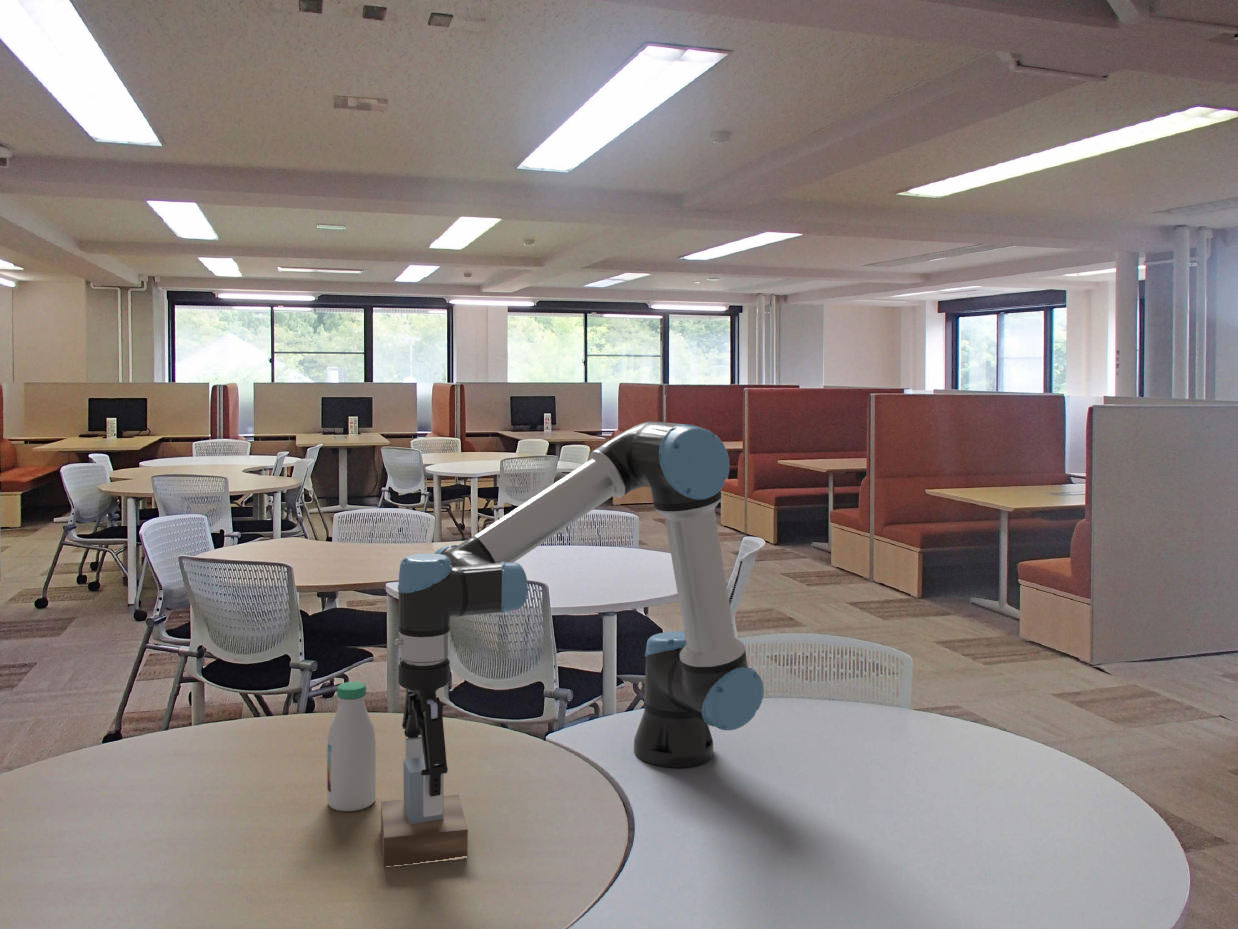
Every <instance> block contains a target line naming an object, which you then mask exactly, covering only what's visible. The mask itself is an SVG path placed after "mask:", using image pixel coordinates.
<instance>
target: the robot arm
mask: <svg viewBox="0 0 1238 929" xmlns="http://www.w3.org/2000/svg"><path fill="white" fill-rule="evenodd" d="M729 474H730V457H729V454H728V450H727V447H726V446H725V444H724V443H723V441H722V439H721V438H720V437H719V436H717V435H716V434H715V433H714V432H712V431H711V430H708V429H706V428H704V427H700V426H697V425H695V424H690V423H689V424H688V423H685V424H683V423H674V422H665V421H659V420H650V421H646V422H641V423H639V424H637V425H634V426H632V427H630V428H628V429H626V430H625V431H623V432H621V433H618V434H617V435H616V436H614V437H612V438H611V439H610V440H608V441H606V442H604V443H603V444H602V445H599V446H598V447H597V448H595V449H594V450H592V451H591V452H590V454H589V459H588V460H587V461H586V462H584V463H583V464H582V465H580V466H578V467H577V468H575V469H574V470H572V471H570V473H568V474H566V475H564V476H563V477H562V478H560V479H558V480H557V481H555V482H554V483H552V484H551V485H549V486H548V487H547V488H545V489H542V491H540V492H539V493H537V494H535V495H534V496H532V497H531V498H529V499H528V500H526V501H525V502H523V503H522V504H520V505H519V506H518V507H516V508H514V509H512V510H511V511H510V512H508V513H506V514H504V515H503V516H502V517H500V518H498V519H497V520H496V521H494V522H493V523H491V524H489V525H487V527H485V528H484V529H482V530H481V531H479V532H478V533H476V534H474V535H473V536H471V537H469V538H468V539H467V540H465V541H463V542H462V543H460V544H459V545H456V544H449V545H444V546H441V547H440V548H439V549H438V548H437V550H436V551H434V553H427V552H426V553H415V554H410V555H408V556H406V557H404V558H403V559H402V560H401V562H400V565H399V570H398V585H397V591H398V625H399V626H398V636H399V638H395V639H394V645H395V646H398V656H399V658H400V660H399V661H398V663H397V664H398V670H397V671H398V672H397V673H398V678H397V680H398V682H397V683H398V684H399V686H400V687H402V688H403V689H406V691H405V700H404V701H405V702H404V708H403V709H404V710H403V716H402V717H403V718H402V724H401V726H402V728H403V730H404V733H403V734H404V736H405V739H404V740H405V744H404V745H405V746H404V747H405V751H404V752H405V753H404V754H405V755H404V756H405V759H404V760H407V759H414V758H421V757H424V761H425V770H422V771H421V775H422V776H423V775H424V784H423V815H424V817H428V816H434V815H441V814H443V796H444V774H447V773H448V769H449V767H448V764H447V753H446V740H445V728H444V717H443V716H444V714H443V710H444V705H443V702H441V700H440V697H437V693H436V692H437V691H438V690H439V689H441V688H444V687H446V686H447V685H448V684H449V682H450V674H451V673H450V666H451V665H450V664H451V662H450V659H449V658H448V657H450V656H451V618H455V617H456V618H457V617H466V616H477V615H487V614H497V613H501V614H504V613H507V612H510V611H511V612H512V611H517V610H520V609H522V608H523V606H524V605H525V603H526V601H527V599H528V593H529V592H528V591H529V588H528V587H529V586H528V578H527V575H526V574H527V573H526V572H525V569H524V567H523V566H522V565H521V564H520V563H518V562H517V561H518V560H520V559H522V557H524V556H526V555H527V554H528V553H530V552H532V551H533V550H534V549H536V548H537V547H539V546H541V545H542V544H544V543H545V542H546V541H547V540H549V539H551V538H552V537H554V536H556V535H557V534H558V533H560V532H561V531H563V530H564V529H566V528H568V526H570V525H572V524H574V522H576V521H578V520H580V519H582V517H585V515H587V514H588V513H590V512H591V511H593V510H594V509H596V508H597V507H599V506H600V505H602V504H603V503H605V502H606V501H607V500H609V499H611V498H612V497H614V498H617V499H618V498H619V499H620V498H624V496H625V495H627V494H629V493H630V492H632V491H634V490H637V489H640V488H650V491H651V498H652V502H653V509H654V510H655V511H656V512H657V513H659V514H660V515H661V516H663V517H664V519H665V520H664V521H665V526H666V531H667V533H666V534H667V537H668V538H667V539H668V544H669V550H670V555H671V561H672V569H673V575H674V580H675V581H674V582H675V587H676V592H677V597H678V603H679V609H680V615H681V621H682V626H683V627H682V628H683V631H667V632H665V631H664V632H659V633H656V634H652V635H651V636H650V637H649V638H648V639H647V641H646V648H645V653H644V657H645V669H644V672H645V675H644V705H643V707H644V709H643V710H644V711H643V714H642V717H641V718H640V719H641V720H640V722H639V725H638V728H637V731H636V734H635V735H634V740H633V752H634V754H635V757H637V758H638V759H640V760H642V761H643V762H646V763H649V764H652V765H655V766H659V767H666V768H692V767H697V766H700V765H703V764H705V763H707V762H709V761H710V760H711V759H712V758H713V756H714V739H713V736H712V732H711V730H710V727H709V726H711V727H713V728H714V727H715V728H717V729H719V730H721V731H722V730H723V731H734V730H735V731H736V730H738V729H740V728H742V727H744V726H745V725H747V724H749V722H750V721H752V720H753V718H754V717H755V715H756V713H757V712H758V710H760V709H761V705H762V703H763V699H764V693H765V692H764V690H765V689H764V682H763V679H762V678H761V676H760V674H759V673H757V671H756V670H755V669H753V668H752V667H749V665H748V664H749V663H748V659H747V653H746V646H745V644H744V643H743V642H742V640H740V639H738V638H737V637H735V632H734V626H733V619H732V613H731V607H730V600H729V599H730V598H729V593H728V587H727V582H726V581H727V580H726V574H725V568H724V566H725V565H724V560H723V555H722V549H721V542H720V534H719V530H718V522H717V516H716V511H715V509H716V507H717V506H718V504H719V503H721V501H722V498H723V496H722V489H723V488H724V486H725V484H726V481H725V480H726V479H728V477H729ZM436 764H439V765H436Z"/></svg>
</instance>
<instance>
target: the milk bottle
mask: <svg viewBox="0 0 1238 929" xmlns="http://www.w3.org/2000/svg"><path fill="white" fill-rule="evenodd" d="M336 695H337V698H336V700H337V701H338V703H337V704H338V705H337V708H336V712H335V714H334V717H333V719H332V721H331V724H330V726H329V730H328V735H327V747H326V748H327V749H326V750H327V758H326V759H327V760H326V762H327V763H326V765H327V766H326V768H327V769H326V770H327V771H326V775H327V777H326V778H327V780H326V782H327V787H326V789H327V793H326V794H327V795H326V796H327V803H328V805H329V807H330V808H331V809H333V810H335V811H337V812H338V811H339V812H356V811H360V810H364V809H367V808H369V807H370V806H372V805H373V803H374V802H375V800H376V793H377V790H376V788H377V786H376V784H377V783H376V782H377V778H376V777H377V776H376V774H377V773H376V770H377V768H376V767H377V766H376V765H377V763H376V762H377V759H376V757H377V756H376V753H377V752H376V751H377V750H376V747H377V746H376V743H377V742H376V731H375V726H374V722H373V721H372V719H371V716H370V714H369V712H368V710H367V707H366V703H365V700H366V698H367V696H366V695H367V685H366V684H365V683H364V682H361V681H346V682H342V683H341V684H339V685H338V686H337V689H336Z"/></svg>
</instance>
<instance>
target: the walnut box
mask: <svg viewBox="0 0 1238 929" xmlns="http://www.w3.org/2000/svg"><path fill="white" fill-rule="evenodd" d="M443 815H444V819H440V820H434V821H429V822H423V823H417V824H411V825H410V823H409V821H408V819H407V816H406V814H405V812H404V799H397V800H394V799H393V800H385V801H381V802H380V834H381V836H380V837H381V847H382V860H384V862H383V868H384V867H386V866H394V865H404V864H413V863H420V862H426V861H435V860H443V859H449V858H455V857H462V856H467V857H468V844H469V843H468V841H469V840H468V837H469V836H468V835H469V834H468V833H469V830H468V829H469V828H468V825H467V822H466V817H465V813H464V810H463V806H462V803H461V798H460V795H459V794H453V795H452V794H451V795H443Z"/></svg>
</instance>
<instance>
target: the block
mask: <svg viewBox="0 0 1238 929" xmlns="http://www.w3.org/2000/svg"><path fill="white" fill-rule="evenodd" d="M402 762H403V800H404V812H405V814H406V816H407V819H408V821H409V823H410V825H411V824H417V823H423V822H429V821H434V820H440V819H444V815H443V814H441V815H434V816H428V817H424V815H423V784H424V775H423V776H422V775H421V771H422V770H425V761H424V756H423V757H421V758H414V759H407V760H405V759H403V761H402ZM436 765H439V764H436Z"/></svg>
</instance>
